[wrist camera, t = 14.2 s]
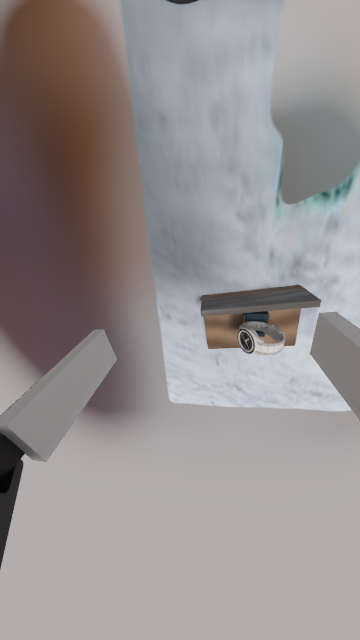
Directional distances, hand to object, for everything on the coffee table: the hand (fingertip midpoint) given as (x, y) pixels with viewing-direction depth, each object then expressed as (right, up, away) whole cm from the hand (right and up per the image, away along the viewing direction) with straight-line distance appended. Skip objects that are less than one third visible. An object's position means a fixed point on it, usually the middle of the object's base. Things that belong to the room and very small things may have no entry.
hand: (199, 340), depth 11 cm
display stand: (+15, +2, +30) cm, 33 cm away
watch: (+15, +2, +28) cm, 31 cm away
